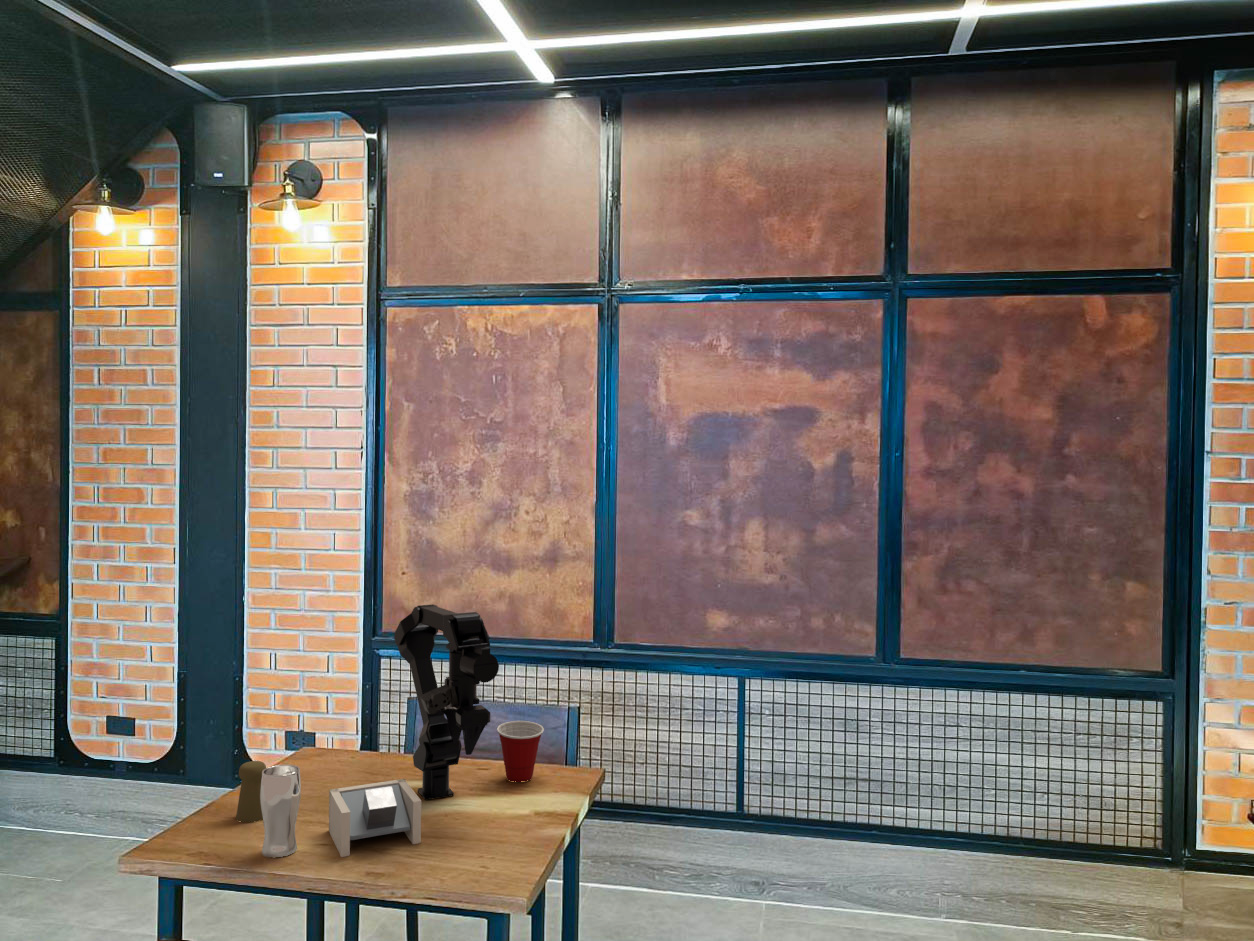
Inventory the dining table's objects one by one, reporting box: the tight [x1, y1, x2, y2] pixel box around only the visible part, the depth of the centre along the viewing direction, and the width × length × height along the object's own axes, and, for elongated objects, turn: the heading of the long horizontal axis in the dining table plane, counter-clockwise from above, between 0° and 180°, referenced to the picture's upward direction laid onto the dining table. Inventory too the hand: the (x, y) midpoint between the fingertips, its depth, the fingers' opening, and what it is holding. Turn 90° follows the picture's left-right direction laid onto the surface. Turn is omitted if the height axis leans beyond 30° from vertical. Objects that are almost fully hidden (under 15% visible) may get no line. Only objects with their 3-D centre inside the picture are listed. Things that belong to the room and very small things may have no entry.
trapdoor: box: [341, 784, 410, 841], centre depth 172 cm, size 12×11×1 cm
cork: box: [235, 760, 267, 823], centre depth 181 cm, size 6×6×11 cm
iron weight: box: [362, 786, 397, 830], centre depth 169 cm, size 5×5×5 cm
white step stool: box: [328, 778, 422, 858], centre depth 172 cm, size 14×15×8 cm
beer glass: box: [260, 764, 302, 858], centre depth 165 cm, size 7×7×15 cm
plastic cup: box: [496, 720, 545, 783], centre depth 206 cm, size 11×11×12 cm
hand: (461, 748), depth 186 cm, fingers open, 9 cm apart
